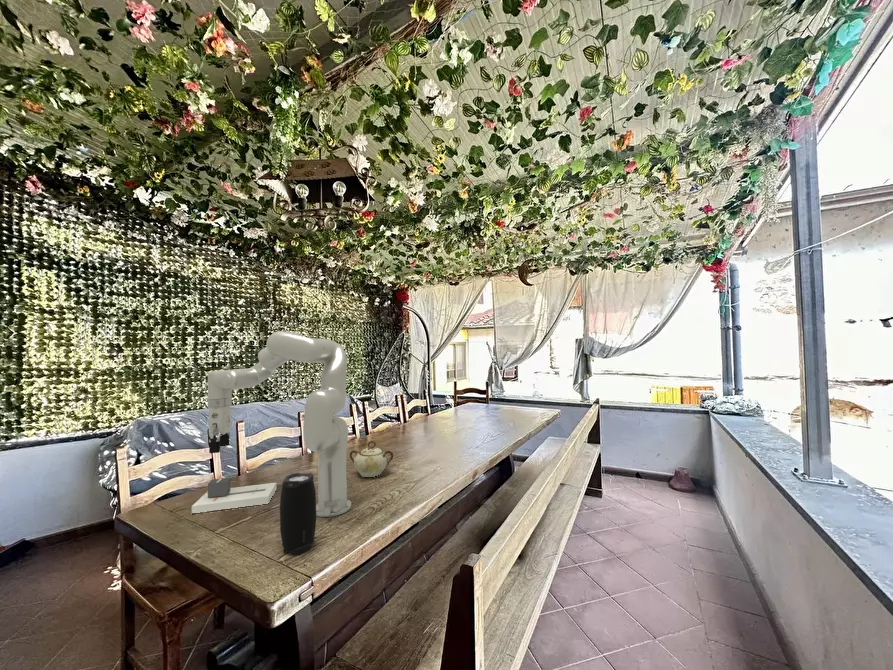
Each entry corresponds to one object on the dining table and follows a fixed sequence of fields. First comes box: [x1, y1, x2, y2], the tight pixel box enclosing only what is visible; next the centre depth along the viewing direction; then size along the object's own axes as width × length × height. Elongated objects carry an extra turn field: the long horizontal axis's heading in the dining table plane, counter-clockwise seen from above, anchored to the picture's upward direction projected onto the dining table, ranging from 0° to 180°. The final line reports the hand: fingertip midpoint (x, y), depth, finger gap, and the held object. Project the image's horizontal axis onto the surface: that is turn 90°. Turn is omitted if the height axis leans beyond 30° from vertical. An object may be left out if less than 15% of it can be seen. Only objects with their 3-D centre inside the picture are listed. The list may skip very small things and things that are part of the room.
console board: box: [191, 482, 277, 514], centre depth 127 cm, size 14×24×3 cm, turn 106°
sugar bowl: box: [349, 440, 394, 478], centre depth 151 cm, size 20×15×15 cm
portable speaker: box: [279, 472, 317, 556], centre depth 95 cm, size 9×9×20 cm
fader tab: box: [207, 477, 231, 498], centre depth 125 cm, size 4×6×5 cm
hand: (219, 449), depth 126 cm, fingers open, 9 cm apart
